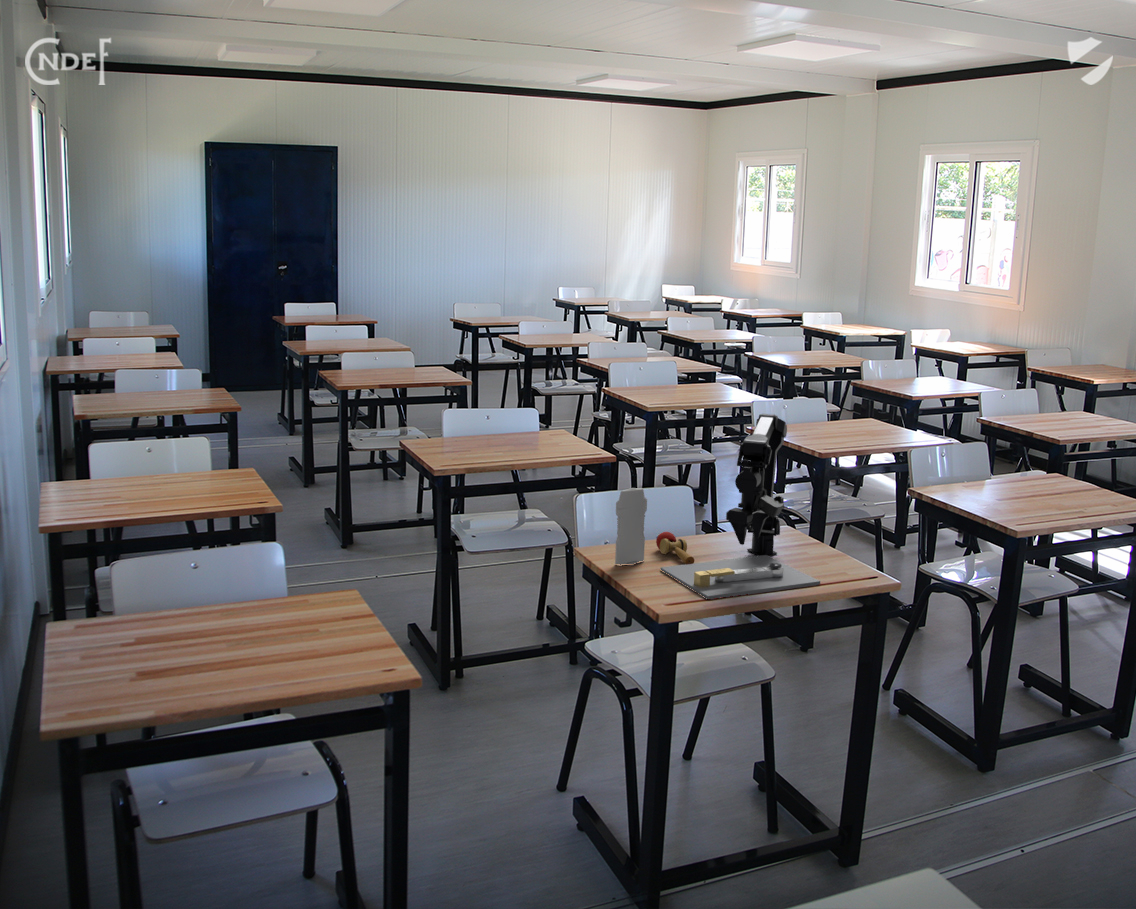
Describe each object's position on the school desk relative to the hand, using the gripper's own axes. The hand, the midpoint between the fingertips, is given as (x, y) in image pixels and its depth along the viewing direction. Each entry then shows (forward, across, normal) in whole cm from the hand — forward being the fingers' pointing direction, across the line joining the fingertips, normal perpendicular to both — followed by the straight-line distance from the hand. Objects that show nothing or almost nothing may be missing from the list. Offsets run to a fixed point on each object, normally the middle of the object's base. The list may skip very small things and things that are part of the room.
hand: (749, 540), depth 261 cm
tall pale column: (+10, -14, +30) cm, 34 cm away
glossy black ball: (+6, 0, -8) cm, 10 cm away
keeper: (+8, -16, +2) cm, 19 cm away
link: (+8, -6, -4) cm, 11 cm away
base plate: (+9, -5, 0) cm, 11 cm away
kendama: (+10, 0, +23) cm, 25 cm away
